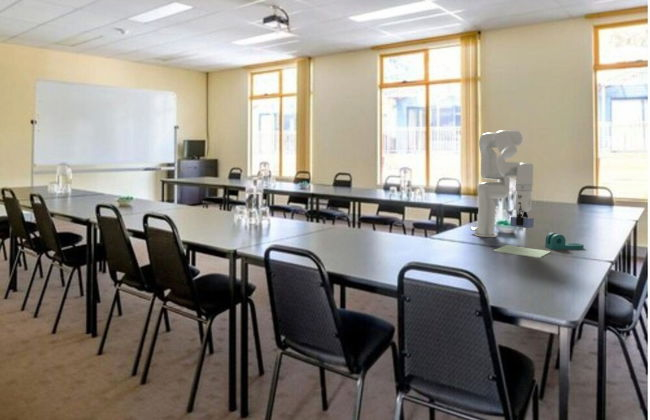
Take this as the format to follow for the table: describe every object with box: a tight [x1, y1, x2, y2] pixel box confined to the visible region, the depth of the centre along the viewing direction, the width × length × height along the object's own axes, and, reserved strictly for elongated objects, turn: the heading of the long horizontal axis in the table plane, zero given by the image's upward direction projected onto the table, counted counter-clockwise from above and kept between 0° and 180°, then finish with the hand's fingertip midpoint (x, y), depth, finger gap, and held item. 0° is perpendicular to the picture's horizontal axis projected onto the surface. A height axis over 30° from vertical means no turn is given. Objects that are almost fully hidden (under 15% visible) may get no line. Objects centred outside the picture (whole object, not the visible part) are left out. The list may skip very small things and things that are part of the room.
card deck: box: [509, 216, 535, 229], centre depth 232 cm, size 6×9×5 cm, turn 38°
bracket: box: [544, 231, 585, 251], centre depth 243 cm, size 18×7×8 cm, turn 93°
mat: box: [492, 244, 551, 259], centre depth 233 cm, size 22×18×1 cm
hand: (521, 224), depth 232 cm, fingers closed on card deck, 6 cm apart
